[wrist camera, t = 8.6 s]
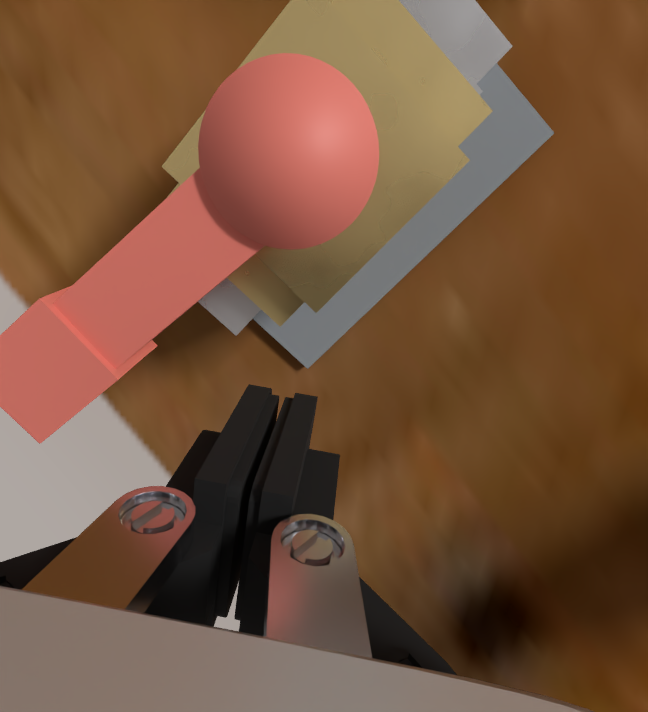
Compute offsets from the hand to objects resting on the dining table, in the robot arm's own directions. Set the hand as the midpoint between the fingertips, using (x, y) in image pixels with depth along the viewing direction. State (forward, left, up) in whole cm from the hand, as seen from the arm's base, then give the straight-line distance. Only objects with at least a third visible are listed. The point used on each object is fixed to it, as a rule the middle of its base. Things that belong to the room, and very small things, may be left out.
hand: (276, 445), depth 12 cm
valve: (-5, -4, -11) cm, 13 cm away
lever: (-2, -4, -1) cm, 5 cm away
